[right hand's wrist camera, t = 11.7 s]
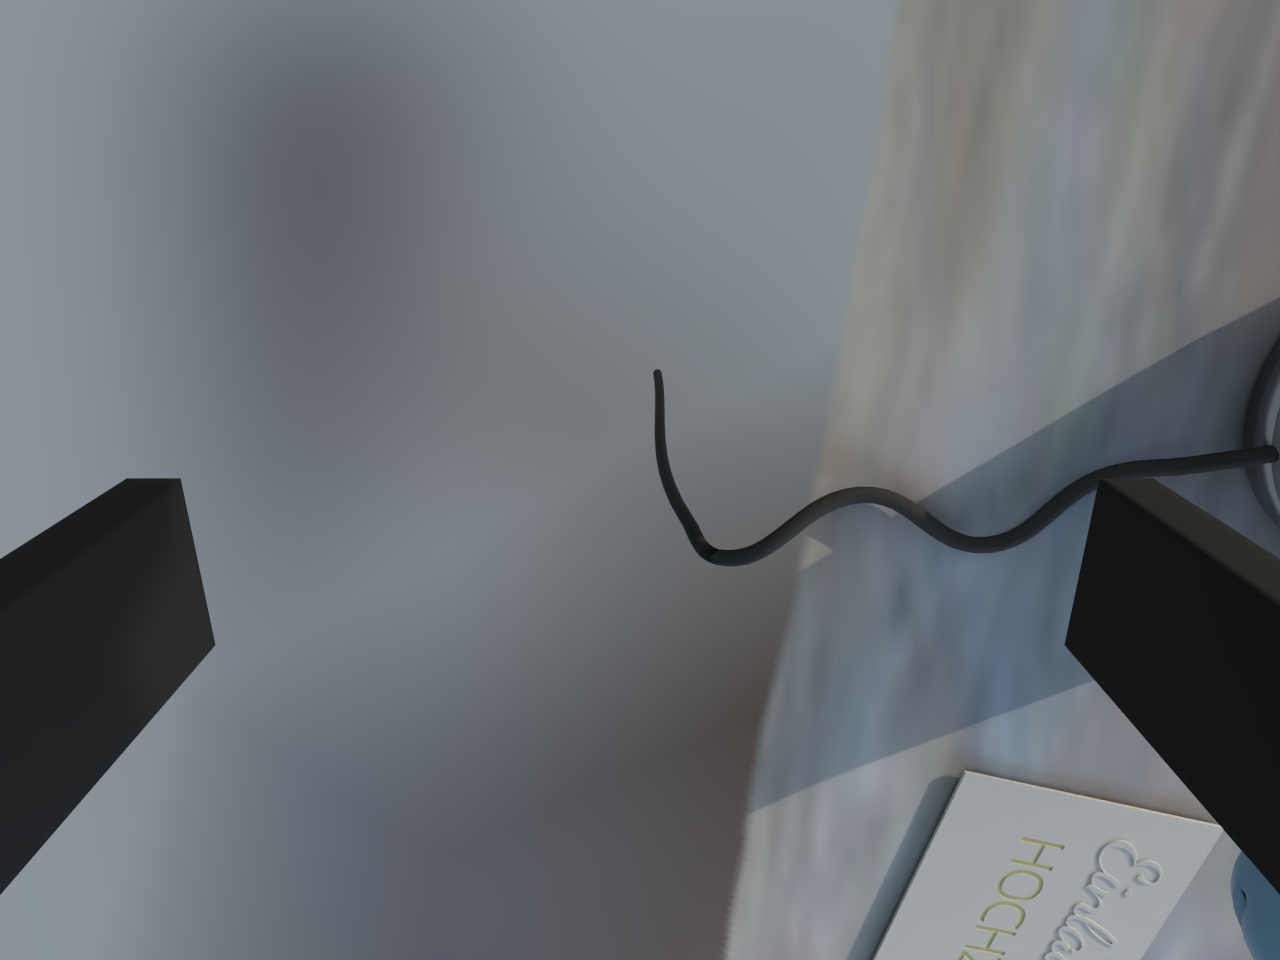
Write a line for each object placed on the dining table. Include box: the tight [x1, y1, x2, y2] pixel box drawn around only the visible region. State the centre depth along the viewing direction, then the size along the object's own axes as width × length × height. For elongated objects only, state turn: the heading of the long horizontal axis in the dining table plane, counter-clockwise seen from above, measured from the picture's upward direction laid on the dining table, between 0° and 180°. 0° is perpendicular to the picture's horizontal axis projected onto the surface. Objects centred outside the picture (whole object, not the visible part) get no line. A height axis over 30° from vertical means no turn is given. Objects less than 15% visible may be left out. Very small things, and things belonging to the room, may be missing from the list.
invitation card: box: [872, 770, 1224, 960], centre depth 49 cm, size 21×1×15 cm
